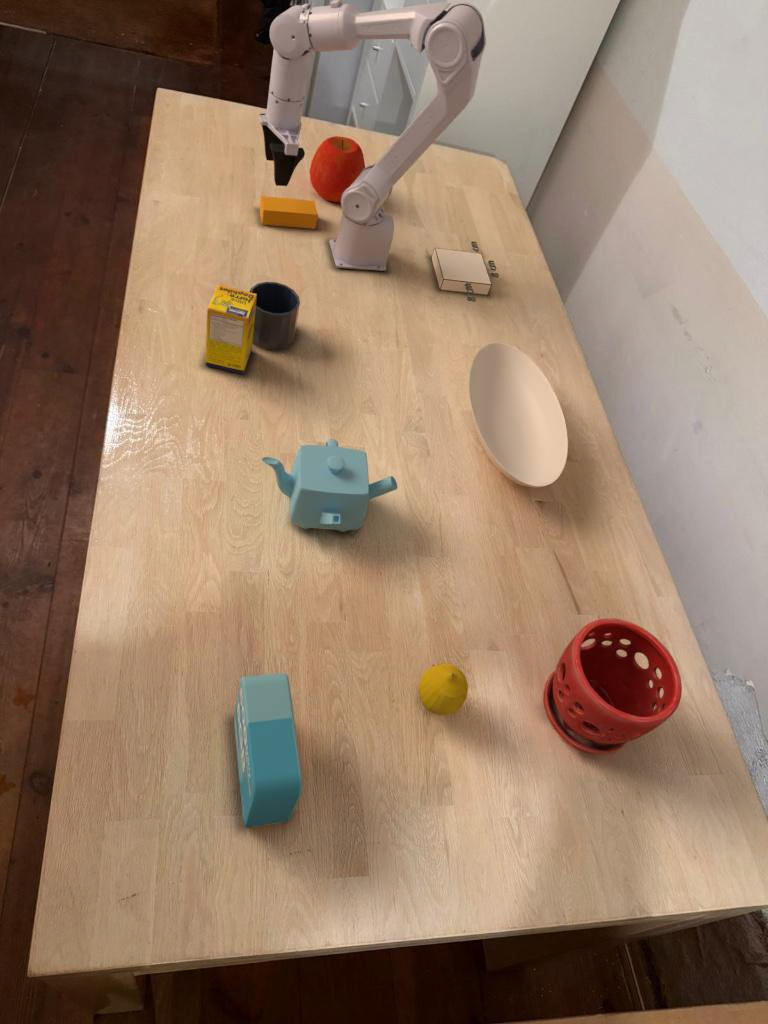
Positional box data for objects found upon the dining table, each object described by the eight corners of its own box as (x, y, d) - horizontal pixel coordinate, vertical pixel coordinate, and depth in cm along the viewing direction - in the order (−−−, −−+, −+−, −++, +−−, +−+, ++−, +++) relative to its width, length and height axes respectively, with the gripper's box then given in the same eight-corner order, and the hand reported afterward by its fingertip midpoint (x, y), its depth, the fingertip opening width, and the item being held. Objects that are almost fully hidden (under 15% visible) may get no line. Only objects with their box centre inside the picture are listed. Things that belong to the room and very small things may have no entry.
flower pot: (651, 749, 90) (706, 711, 81) (558, 772, 86) (605, 736, 77) (604, 652, 97) (650, 607, 88) (517, 669, 93) (555, 624, 84)
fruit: (453, 730, 86) (475, 704, 80) (407, 718, 86) (426, 691, 80) (458, 687, 90) (480, 658, 83) (414, 675, 89) (432, 645, 83)
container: (426, 241, 145) (430, 229, 143) (481, 248, 148) (485, 236, 146) (444, 309, 134) (448, 297, 132) (503, 315, 137) (508, 303, 135)
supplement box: (251, 349, 116) (258, 292, 108) (243, 375, 113) (249, 318, 104) (214, 340, 116) (217, 282, 107) (204, 366, 112) (207, 308, 103)
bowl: (447, 364, 125) (458, 336, 120) (530, 375, 128) (544, 348, 123) (472, 508, 107) (486, 481, 102) (567, 515, 110) (585, 490, 106)
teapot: (384, 479, 107) (400, 432, 99) (390, 561, 98) (409, 517, 90) (257, 467, 103) (264, 417, 95) (253, 552, 94) (260, 505, 87)
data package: (233, 717, 81) (241, 671, 72) (274, 712, 83) (287, 666, 73) (243, 831, 75) (254, 797, 65) (288, 824, 76) (304, 790, 67)
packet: (311, 214, 142) (314, 200, 140) (315, 228, 140) (317, 214, 137) (259, 210, 139) (260, 195, 137) (262, 224, 137) (263, 209, 134)
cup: (290, 318, 123) (296, 283, 117) (297, 350, 119) (302, 315, 113) (242, 316, 121) (246, 280, 115) (247, 349, 116) (251, 313, 111)
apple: (337, 172, 153) (347, 120, 145) (372, 200, 150) (383, 149, 142) (297, 182, 148) (304, 129, 139) (331, 212, 144) (341, 160, 136)
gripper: (253, 67, 122) (245, 147, 133) (271, 114, 114) (262, 195, 125) (295, 72, 124) (284, 150, 135) (315, 118, 117) (302, 197, 128)
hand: (276, 172), depth 130 cm, fingers open, 7 cm apart
